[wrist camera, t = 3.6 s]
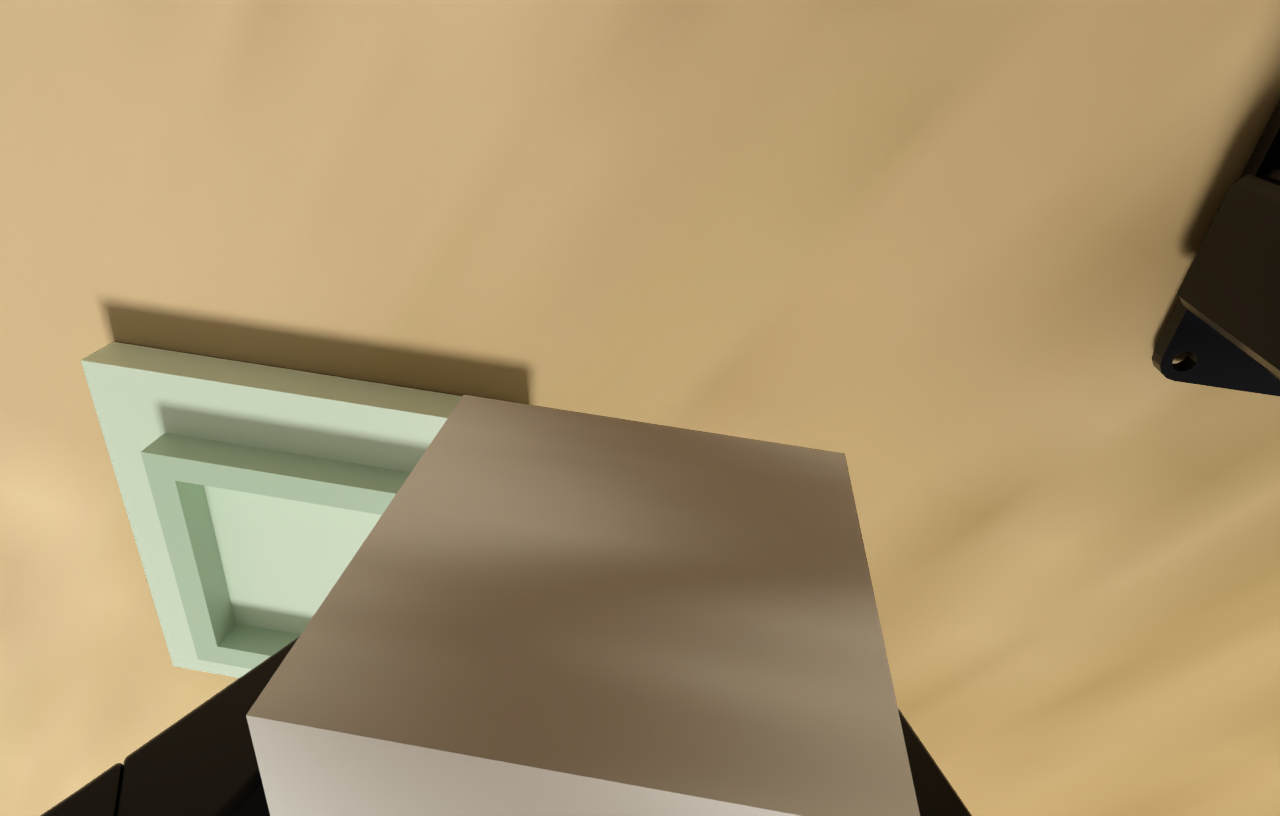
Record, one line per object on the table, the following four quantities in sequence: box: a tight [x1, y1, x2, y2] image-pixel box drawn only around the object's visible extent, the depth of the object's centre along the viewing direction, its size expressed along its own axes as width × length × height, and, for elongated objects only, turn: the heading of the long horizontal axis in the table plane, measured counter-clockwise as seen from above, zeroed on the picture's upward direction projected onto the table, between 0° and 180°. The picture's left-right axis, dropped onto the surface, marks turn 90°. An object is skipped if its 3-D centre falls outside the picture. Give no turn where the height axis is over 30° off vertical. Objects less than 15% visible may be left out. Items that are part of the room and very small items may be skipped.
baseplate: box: [81, 342, 463, 678], centre depth 23 cm, size 12×12×2 cm
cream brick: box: [246, 395, 920, 816], centre depth 8 cm, size 4×4×4 cm
